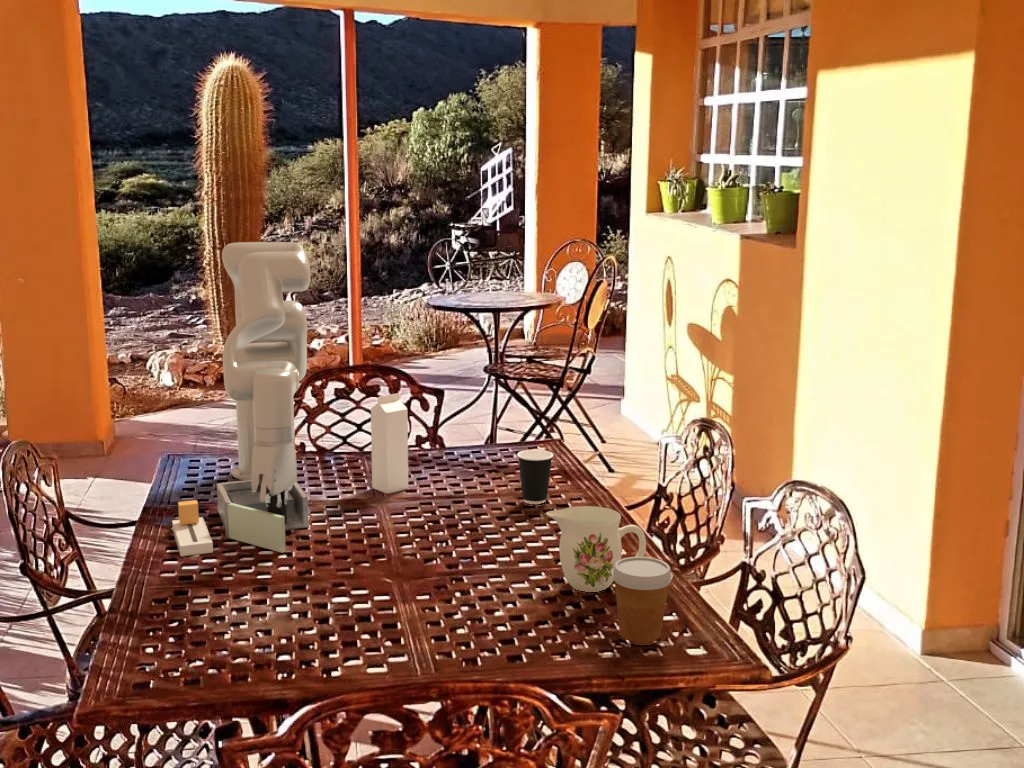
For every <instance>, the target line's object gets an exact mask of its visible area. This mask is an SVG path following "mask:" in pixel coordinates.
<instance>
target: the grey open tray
mask: <svg viewBox="0 0 1024 768" xmlns="http://www.w3.org/2000/svg"><path fill="white" fill-rule="evenodd" d="M216 493H217V494H216V495H217V496H216V497H217V513H219V514H218V515H220V516H219V518H220V517H221V518H220V521H221V522H223V523H222V524H223V527H224V528H225V511H224V502H225V501H231V503H234V504H238V505H242V506H246V507H250V508H254V509H258V510H262V511H266V512H268V507H267V506H266V503H261V502H260V493H258V494H254V493H253V492H252V480H238V481H229V482H228V481H226V482H217V483H216ZM308 500H309V497H308V495H307V494H306V493H305V491H304V489H302V487H301V485H300V484H299V483H298V481H297V480H296V482H295V483H294V484H293V487H292V488H291V490H290V491H289V492H288V502H287V504H284V505H286V509H287V524H286V525H285V531H287V530H296V529H305V528H309V501H308Z"/></svg>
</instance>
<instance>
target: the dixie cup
mask: <svg viewBox="0 0 1024 768" xmlns="http://www.w3.org/2000/svg"><path fill="white" fill-rule="evenodd" d="M516 456H517V457H518V464H519V476H520V477H519V478H520V485H521V495H522V499H523V503H524V502H525V503H529V504H541V503H544V502H545V503H546V501H547V497H548V493H549V483H550V477H551V469H552V468H551V467H552V461H553V460H552V459H553V458H554V454H553V452H551V451H548V450H544V449H543V450H542V449H526V450H522V451H521V450H520V451H519V452H518V453H517V454H516ZM525 503H524V504H525Z"/></svg>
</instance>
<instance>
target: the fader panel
mask: <svg viewBox="0 0 1024 768" xmlns="http://www.w3.org/2000/svg"><path fill="white" fill-rule="evenodd" d="M171 521H172V522H171V523H172V533H173V532H174V533H173V535H174V539H175V542H176V546H177V550H178V552H179V557H186V556H195V555H201V554H202V555H203V554H210V553H211V554H212V553H214V543H213V540H212V538H211V535H210V532H209V530H208V527H207V524H206V522H205V519H204V517H202V516H201V517H200V516H199V523H192V524H183V525H180V522H179V519H175V520H174V519H173V520H171Z"/></svg>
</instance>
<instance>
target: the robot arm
mask: <svg viewBox="0 0 1024 768" xmlns="http://www.w3.org/2000/svg"><path fill="white" fill-rule="evenodd" d="M221 253H222V255H221V259H222V264H223V267H224V269H225V271H226V273H227V274H228V276H229V278H230V280H231V281H232V284H233V287H234V308H235V310H234V312H235V326H234V327H233V329H232V330H231V331H230V333H229V334H228V336H227V338H226V340H225V342H224V345H223V351H222V371H223V385H224V389H225V393H226V395H227V397H228V398H229V399H231V400H233V401H235V406H236V407H235V408H236V409H235V412H236V426H237V427H236V429H237V430H236V432H237V433H236V434H237V435H236V436H237V453H238V465H237V466H236V467H234V468H233V469H232V471H231V473H232V477H233V478H235V479H237V480H239V481H245V480H252V492H253V493H254V494H258V493H260V502H261V503H266V506H267V507H268V512H269V513H273V514H277V515H281V516H284V518H285V525H286V524H287V509H286V505H284V504H287V502H288V492H289V491H290V490H291V488H292V487H293V484H294V483H295V482H296V481H297V478H298V465H297V452H296V445H295V440H296V438H295V435H296V434H295V415H294V414H295V411H294V408H295V407H294V406H295V405H294V396H295V393H296V392H297V390H298V389H299V386H300V381H302V380H303V379H304V378H305V376H306V375H307V367H308V321H307V314H306V310H305V308H304V306H303V304H301V303H300V302H298V301H295V300H284V295H283V294H284V293H291V292H292V293H293V292H295V293H296V292H297V293H298V292H304V291H307V290H308V288H309V287H310V283H311V278H312V277H311V275H312V274H311V265H310V261H309V258H308V256H307V254H306V252H305V249H304V248H303V245H301V244H300V243H298V242H294V241H293V242H292V241H288V242H287V241H274V242H273V241H272V242H270V241H269V242H268V241H247V242H246V241H245V242H241V241H239V242H238V241H237V242H231V243H228V244H226V245H224V247H223V249H222V252H221Z"/></svg>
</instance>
